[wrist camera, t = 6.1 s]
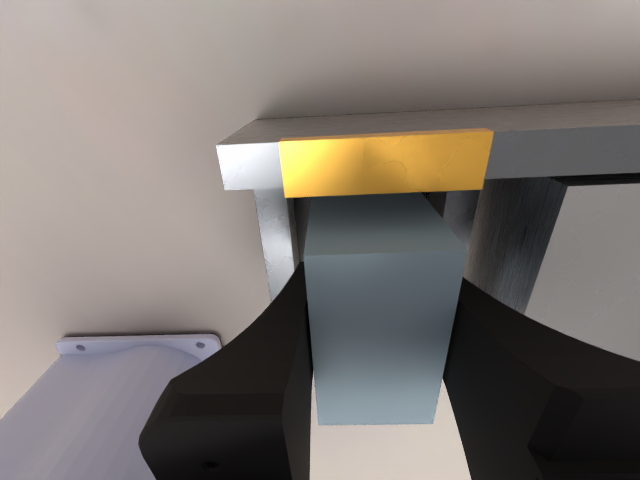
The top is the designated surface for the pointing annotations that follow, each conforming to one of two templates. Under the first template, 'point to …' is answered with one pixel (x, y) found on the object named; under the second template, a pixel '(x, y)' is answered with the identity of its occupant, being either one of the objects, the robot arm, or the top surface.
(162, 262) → the top surface
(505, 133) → the rack bay
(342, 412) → the pale blue tall block
